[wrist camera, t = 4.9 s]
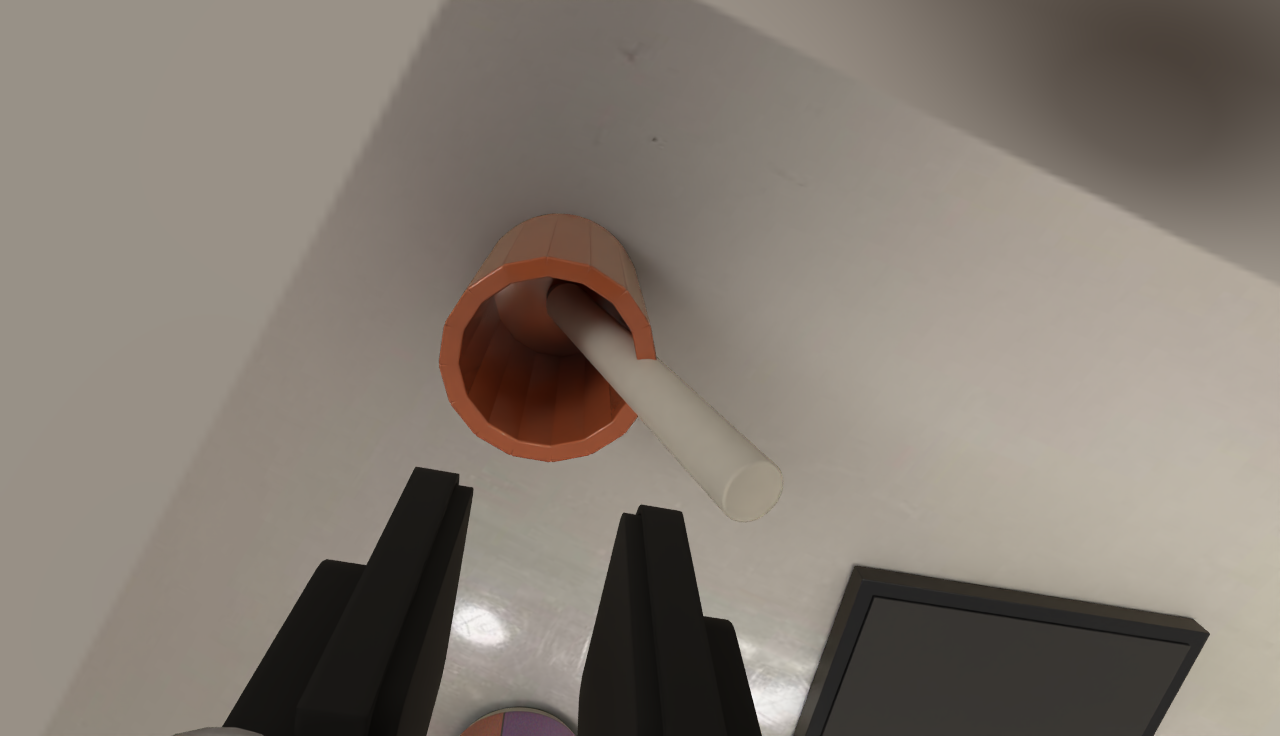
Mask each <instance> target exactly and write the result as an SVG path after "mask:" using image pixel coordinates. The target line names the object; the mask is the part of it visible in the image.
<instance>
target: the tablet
mask: <svg viewBox="0 0 1280 736" xmlns="http://www.w3.org/2000/svg"><path fill="white" fill-rule="evenodd" d="M1209 635H1210V633H1209V632H1208V631H1207V630H1205V629H1204V628H1203V627H1202V626H1201V625H1199V624H1198V623H1197V622H1196V621H1195V620H1194V619H1190V618H1183V617H1177V616H1171V615H1164V614H1158V613H1152V612H1146V611H1139V610H1133V609H1127V608H1120V607H1114V606H1108V605H1101V604H1095V603H1089V602H1083V601H1076V600H1070V599H1064V598H1057V597H1051V596H1045V595H1038V594H1032V593H1026V592H1019V591H1013V590H1007V589H1001V588H994V587H988V586H982V585H975V584H969V583H963V582H956V581H950V580H944V579H938V578H931V577H925V576H919V575H912V574H906V573H900V572H893V571H887V570H881V569H875V568H868V567H862V566H855V567H854V569H853V572H852V575H851V578H850V580H849V583H848V586H847V589H846V591H845V594H844V597H843V600H842V603H841V605H840V608H839V611H838V614H837V616H836V619H835V622H834V625H833V627H832V630H831V633H830V636H829V638H828V641H827V644H826V647H825V650H824V652H823V655H822V658H821V661H820V663H819V666H818V669H817V672H816V674H815V677H814V680H813V683H812V685H811V688H810V691H809V694H808V697H807V699H806V702H805V705H804V708H803V710H802V713H801V716H800V719H799V721H798V724H797V727H796V730H795V732H794V735H793V736H1154V734H1155V732H1156V730H1157V728H1158V727H1159V725H1160V723H1161V721H1162V719H1163V718H1164V716H1165V714H1166V712H1167V710H1168V709H1169V707H1170V705H1171V703H1172V701H1173V700H1174V698H1175V696H1176V694H1177V692H1178V691H1179V689H1180V687H1181V685H1182V683H1183V682H1184V680H1185V678H1186V676H1187V675H1188V673H1189V671H1190V669H1191V667H1192V666H1193V664H1194V662H1195V660H1196V658H1197V657H1198V655H1199V653H1200V651H1201V649H1202V648H1203V646H1204V644H1205V642H1206V640H1207V639H1208V637H1209Z"/></svg>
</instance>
